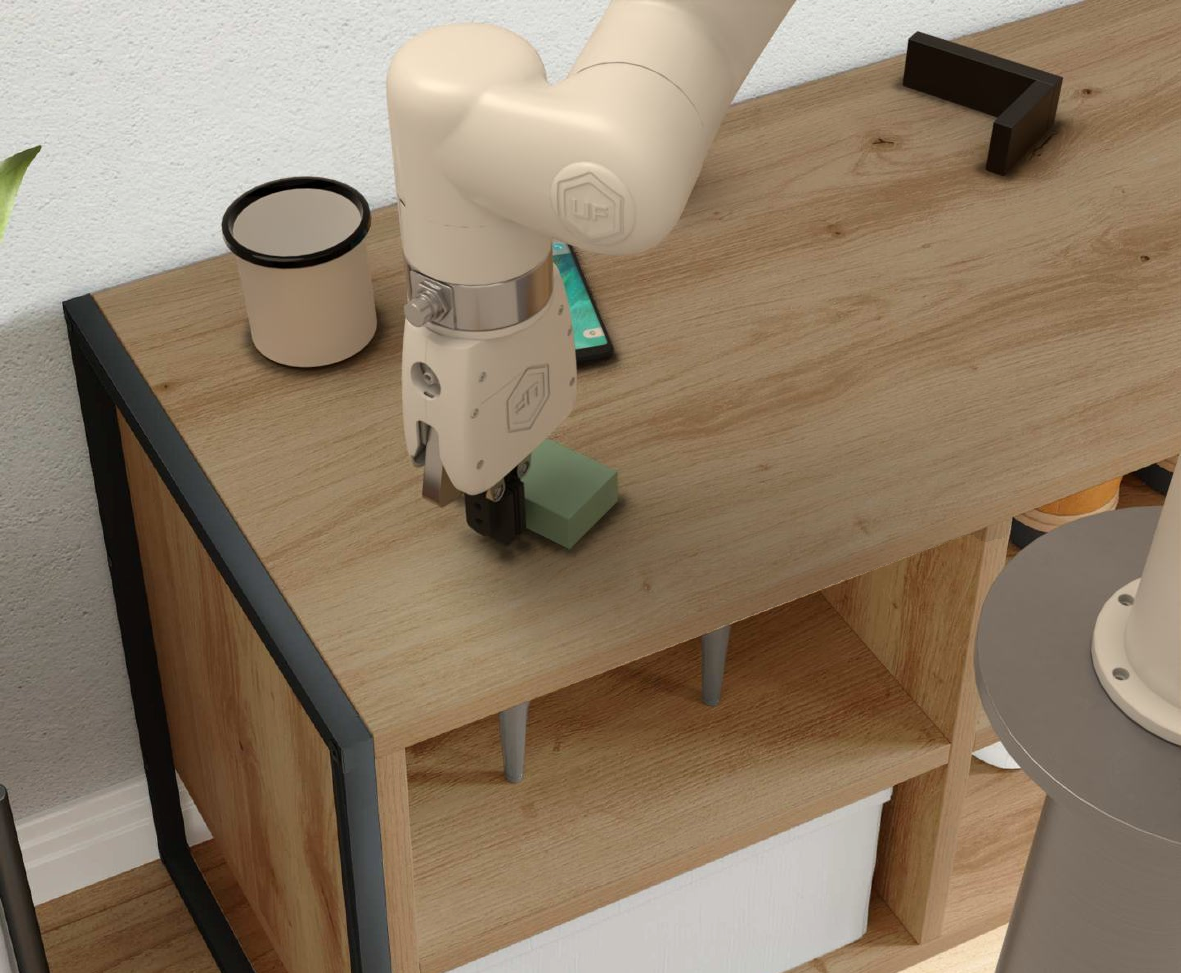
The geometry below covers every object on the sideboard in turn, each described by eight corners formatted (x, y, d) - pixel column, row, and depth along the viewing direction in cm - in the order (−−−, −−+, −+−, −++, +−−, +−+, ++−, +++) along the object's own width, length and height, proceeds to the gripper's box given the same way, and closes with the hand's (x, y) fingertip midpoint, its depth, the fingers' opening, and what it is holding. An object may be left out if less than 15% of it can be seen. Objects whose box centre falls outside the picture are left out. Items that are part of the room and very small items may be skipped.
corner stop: (1003, 176, 127) (1012, 127, 124) (857, 124, 132) (862, 77, 129) (1054, 124, 131) (1063, 76, 128) (911, 77, 136) (917, 30, 133)
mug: (409, 345, 114) (395, 230, 108) (277, 393, 111) (254, 278, 104) (335, 254, 121) (318, 141, 115) (209, 296, 118) (184, 183, 112)
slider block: (618, 501, 104) (618, 470, 102) (569, 550, 101) (568, 519, 99) (512, 450, 107) (510, 420, 105) (462, 496, 104) (459, 466, 102)
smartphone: (564, 224, 122) (616, 352, 112) (564, 233, 122) (616, 361, 112) (465, 239, 121) (509, 370, 111) (465, 248, 121) (510, 380, 111)
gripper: (444, 376, 82) (467, 634, 95) (623, 225, 90) (622, 482, 103) (325, 320, 85) (364, 578, 98) (509, 179, 93) (522, 435, 106)
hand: (496, 528), depth 101 cm, fingers closed
